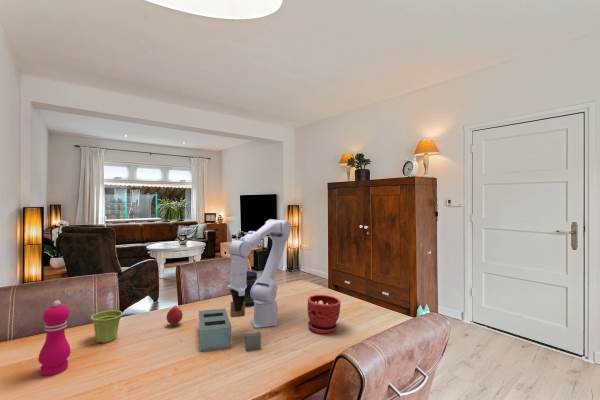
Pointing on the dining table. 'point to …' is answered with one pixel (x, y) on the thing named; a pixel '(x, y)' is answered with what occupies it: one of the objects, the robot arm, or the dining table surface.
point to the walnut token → (238, 313)
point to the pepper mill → (55, 341)
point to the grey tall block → (252, 341)
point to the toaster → (214, 330)
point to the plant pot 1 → (106, 325)
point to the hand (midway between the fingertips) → (237, 309)
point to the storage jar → (249, 288)
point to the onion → (174, 316)
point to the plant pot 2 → (323, 313)
